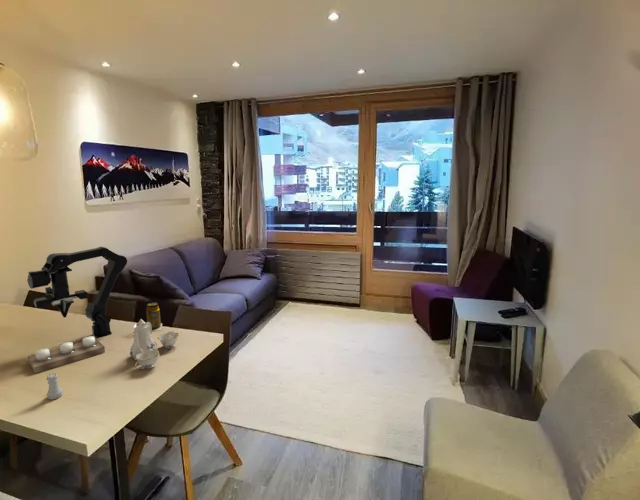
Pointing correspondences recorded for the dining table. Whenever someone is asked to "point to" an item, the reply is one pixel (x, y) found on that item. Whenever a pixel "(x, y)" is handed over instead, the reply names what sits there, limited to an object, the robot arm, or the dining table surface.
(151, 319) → the condiment
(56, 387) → the rook chess piece
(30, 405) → the dining table surface
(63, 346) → the knob mid
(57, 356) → the knob rail
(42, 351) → the knob
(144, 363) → the chinaware
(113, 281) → the robot arm
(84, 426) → the dining table surface
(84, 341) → the knob
